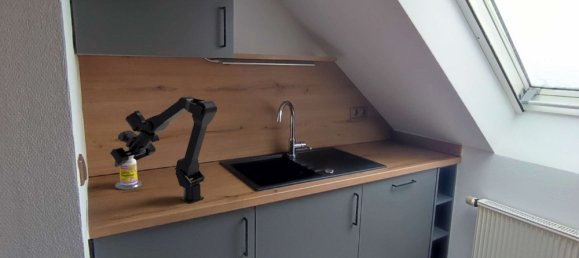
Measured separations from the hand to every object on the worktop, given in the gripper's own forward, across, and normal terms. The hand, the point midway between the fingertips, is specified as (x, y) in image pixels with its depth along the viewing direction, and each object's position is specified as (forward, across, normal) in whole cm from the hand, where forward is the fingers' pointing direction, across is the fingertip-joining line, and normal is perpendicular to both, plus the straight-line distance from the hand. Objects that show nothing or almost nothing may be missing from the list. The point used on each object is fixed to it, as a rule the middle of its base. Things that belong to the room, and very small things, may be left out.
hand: (124, 163), depth 154 cm
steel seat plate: (+6, 0, +8) cm, 10 cm away
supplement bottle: (+5, 0, +7) cm, 9 cm away
